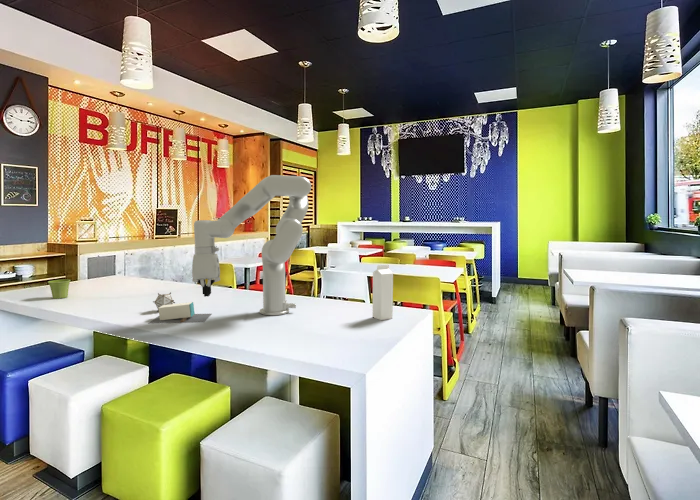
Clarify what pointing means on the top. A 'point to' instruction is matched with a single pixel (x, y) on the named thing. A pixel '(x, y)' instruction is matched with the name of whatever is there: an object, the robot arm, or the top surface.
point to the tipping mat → (183, 319)
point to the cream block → (176, 311)
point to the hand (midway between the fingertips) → (207, 295)
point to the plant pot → (59, 288)
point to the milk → (382, 293)
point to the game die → (163, 300)
